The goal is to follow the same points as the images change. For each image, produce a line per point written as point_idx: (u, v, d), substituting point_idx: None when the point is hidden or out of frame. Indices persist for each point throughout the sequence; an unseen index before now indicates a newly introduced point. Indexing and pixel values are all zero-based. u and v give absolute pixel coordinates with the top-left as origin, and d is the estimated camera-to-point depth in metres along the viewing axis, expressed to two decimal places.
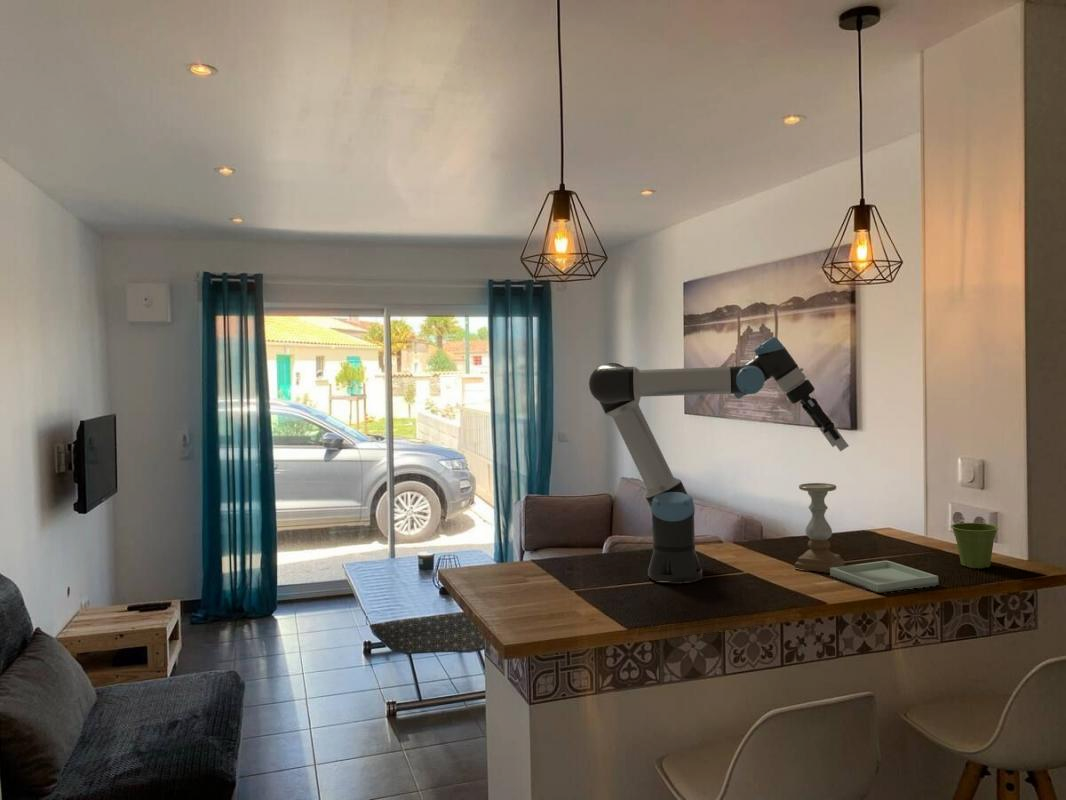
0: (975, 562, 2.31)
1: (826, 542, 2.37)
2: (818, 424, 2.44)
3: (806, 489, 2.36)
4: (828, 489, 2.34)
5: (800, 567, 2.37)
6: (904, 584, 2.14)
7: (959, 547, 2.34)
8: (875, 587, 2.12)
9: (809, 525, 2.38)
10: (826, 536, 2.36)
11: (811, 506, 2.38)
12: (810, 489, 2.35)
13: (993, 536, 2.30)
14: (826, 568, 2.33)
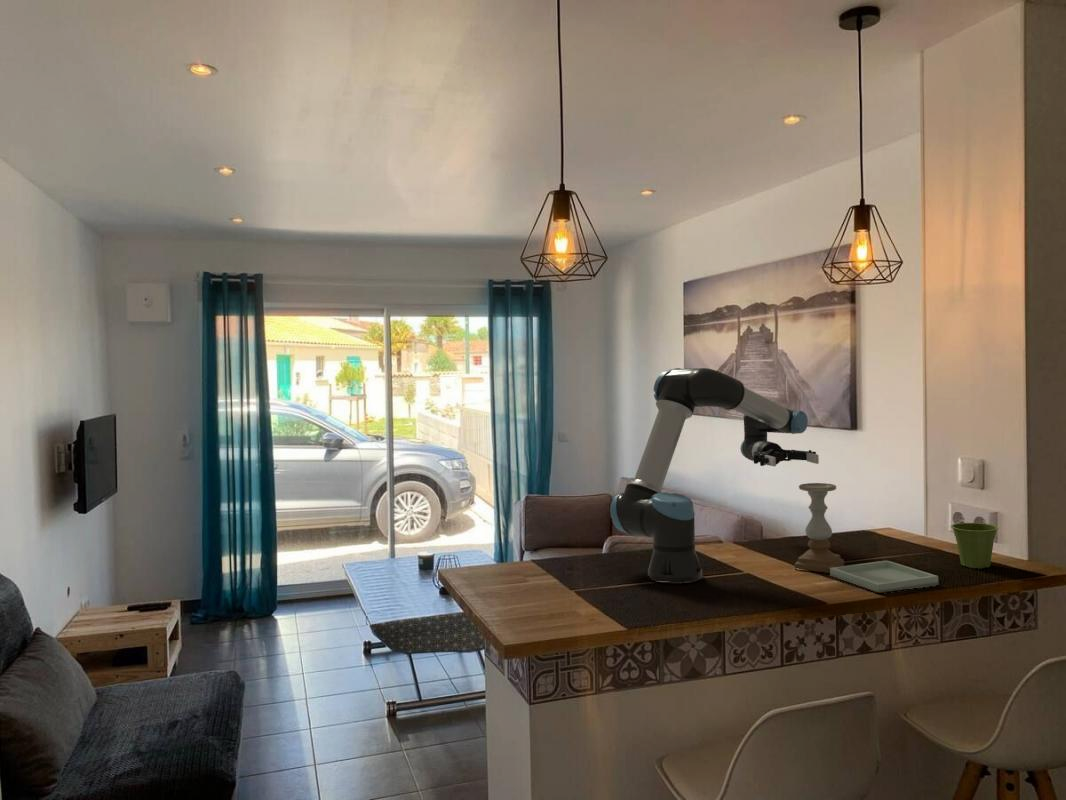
0: (975, 562, 2.31)
1: (826, 542, 2.37)
2: None
3: (806, 489, 2.36)
4: (828, 489, 2.34)
5: (800, 567, 2.37)
6: (904, 584, 2.14)
7: (959, 547, 2.34)
8: (875, 587, 2.12)
9: (809, 525, 2.38)
10: (826, 536, 2.36)
11: (811, 506, 2.38)
12: (810, 489, 2.35)
13: (993, 536, 2.30)
14: (826, 568, 2.33)
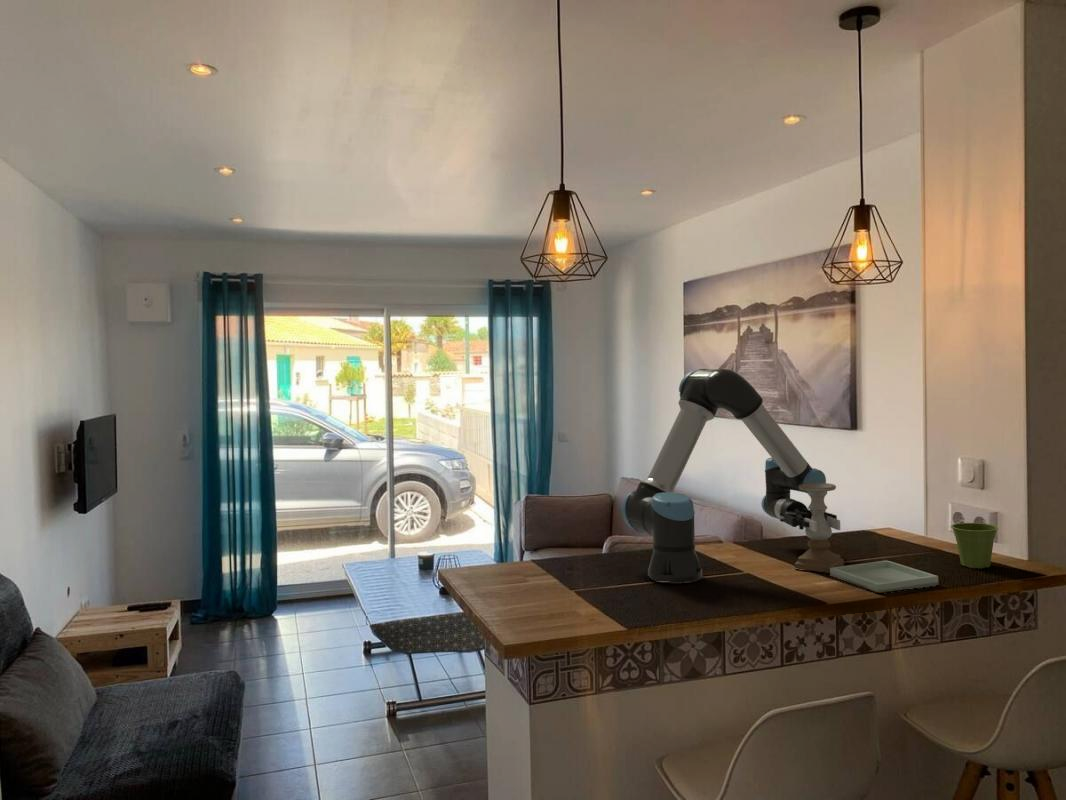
0: (975, 562, 2.31)
1: (826, 542, 2.37)
2: (802, 518, 2.42)
3: (806, 489, 2.36)
4: (828, 489, 2.34)
5: (800, 567, 2.37)
6: (904, 584, 2.14)
7: (959, 547, 2.34)
8: (875, 587, 2.12)
9: None
10: (826, 536, 2.36)
11: (811, 506, 2.38)
12: (810, 489, 2.35)
13: (993, 536, 2.30)
14: (826, 568, 2.33)
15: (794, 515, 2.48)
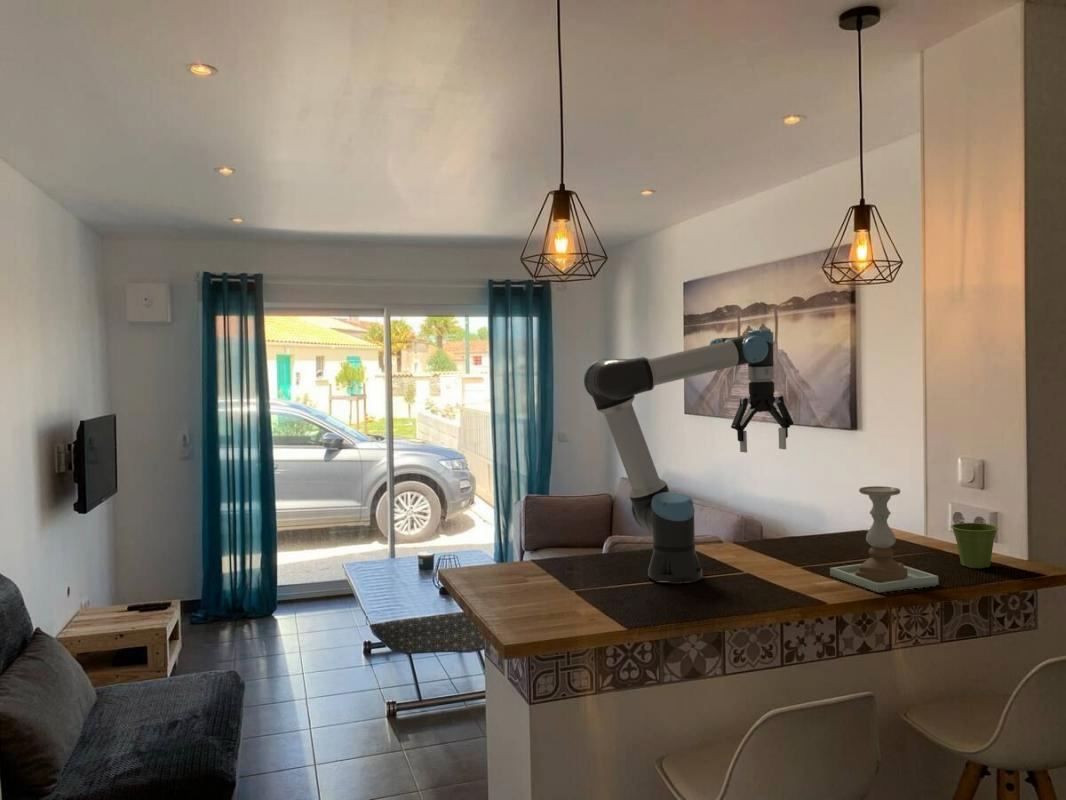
0: (975, 562, 2.31)
1: (889, 550, 2.21)
2: (779, 423, 2.56)
3: (868, 493, 2.19)
4: (892, 493, 2.17)
5: None
6: (904, 584, 2.14)
7: (959, 547, 2.34)
8: (875, 587, 2.12)
9: (870, 532, 2.22)
10: (889, 543, 2.19)
11: (873, 511, 2.22)
12: (872, 493, 2.18)
13: (993, 536, 2.30)
14: (890, 578, 2.16)
15: None
